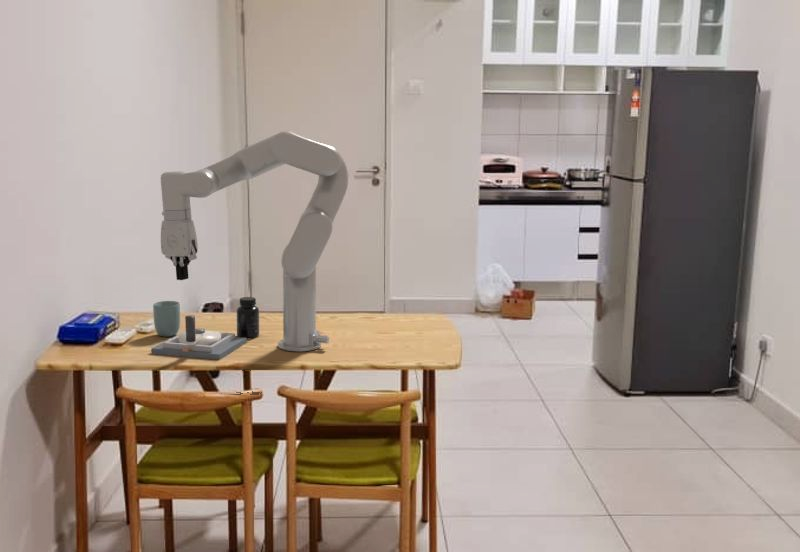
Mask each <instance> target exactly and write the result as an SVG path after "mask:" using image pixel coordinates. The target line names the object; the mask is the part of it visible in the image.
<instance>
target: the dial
mask: <svg viewBox="0 0 800 552" xmlns="http://www.w3.org/2000/svg"><path fill="white" fill-rule="evenodd" d="M184 319H185V331H186V333H183V332H182V333H183V334H180V333H179V334H180V335H179V343H184V344H187V345H194V344H196V345H207V346H211V345H213V344H214V343H216V342H218V341H219V340H221V334H220V333H219V331H215V330H206V329H205V328H199V327H198V328H196V316H195V315H193V314H192V315H190V314H189V315H185V317H184Z"/></svg>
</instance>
